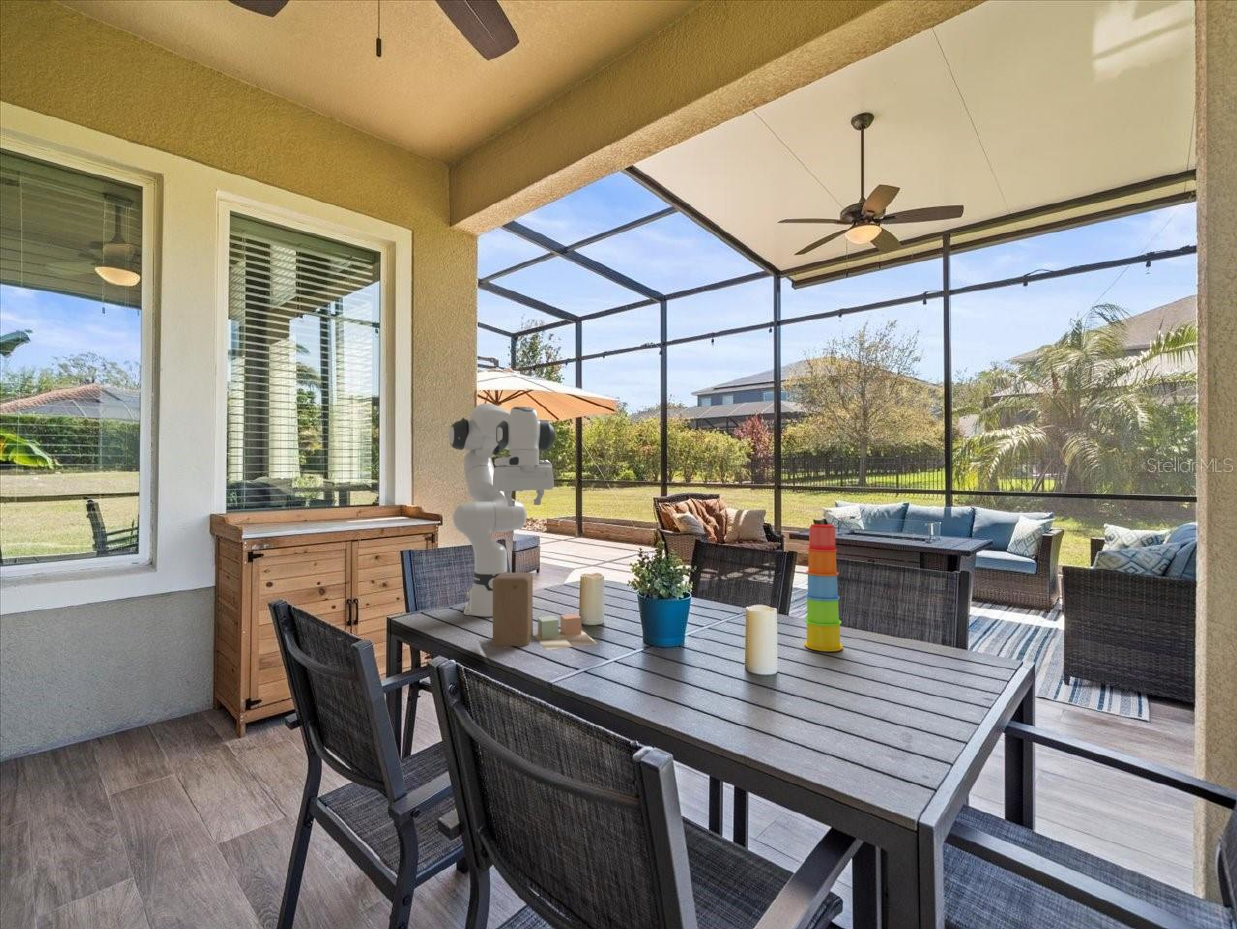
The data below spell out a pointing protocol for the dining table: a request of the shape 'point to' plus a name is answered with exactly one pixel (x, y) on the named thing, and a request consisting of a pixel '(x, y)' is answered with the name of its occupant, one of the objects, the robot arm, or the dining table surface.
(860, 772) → the dining table surface
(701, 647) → the dining table surface
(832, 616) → the stacking cups
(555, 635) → the sage block
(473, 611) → the robot arm
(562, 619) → the terracotta block
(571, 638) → the birch base board
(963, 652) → the dining table surface
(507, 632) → the wooden block
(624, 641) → the dining table surface
